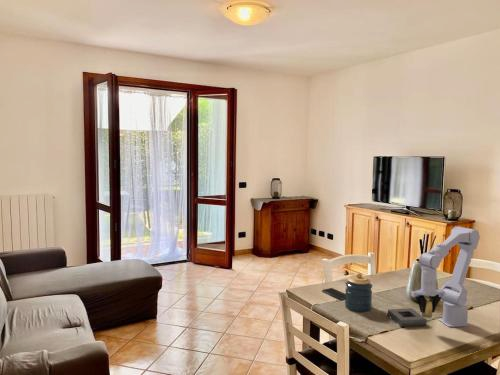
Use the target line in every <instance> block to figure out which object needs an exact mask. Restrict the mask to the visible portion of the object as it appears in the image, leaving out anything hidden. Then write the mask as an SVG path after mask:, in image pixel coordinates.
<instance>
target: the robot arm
mask: <svg viewBox="0 0 500 375" xmlns="http://www.w3.org/2000/svg"><path fill="white" fill-rule="evenodd" d="M480 237H481V235H480V232H479V231H478V229H476V228H473V229H472V228H468V227H464V226H459V225H455V226H454V227H453V228H452V229H451V231H450V235H448V237H447V238H446V239H445V240H444V241H443V242H442V243H441V242H440V243H437V244H436V245H435V246H433V247H432V248H431V249H430V250H429V251H428V252H423V253H421V255H420V256H419V259H418V263H419V265H420V268H419V269H420V270H421V278H420V279H421V280H420V289H417V290H412V291H410V296H411V297H412V298H415V299H416V301H417V304H418V307H419V312H420V313H421V314H422V313H424V312H425V304H426V301H427V299H425V298H426V297H428V299H431V300H433V309H432V314H433V313H435V311H436V308H437V306H438V304H439V303H440V301H441V303H443V307H442V318H441V317H440V318H438V319H437V320H439V322H440V323H441V322H442V323H443V324H444V325H446V326H447V327H449V328H455V327H456V328H457V327H458V328H460V327H469V324H468V313H469V311H468V307H467V306H466V303H467V302H468V301H467V300H468V297H467V296H468V290H467V289H466V287H465V286H464V283H465V280H466V277H467V273H468V270H469V268H470V264H471V262H472V258H473V254H474V251H475V250H476V249H477V248H478V245H479V241H480ZM456 245H457V246H459V248H460V250H459V254H458V256H457V259H456V262H455V265H454V269H453V271H452V275H451V278H450V280H449V281H447V282H445V283H443V286H442V287H441V289H436V287H437V269H438V268H439V267H440V265H441V263H442V260H443V259H444V258H446V257H447V255H449V253H450V249H452V248H454V247H455V246H456Z"/></svg>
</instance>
